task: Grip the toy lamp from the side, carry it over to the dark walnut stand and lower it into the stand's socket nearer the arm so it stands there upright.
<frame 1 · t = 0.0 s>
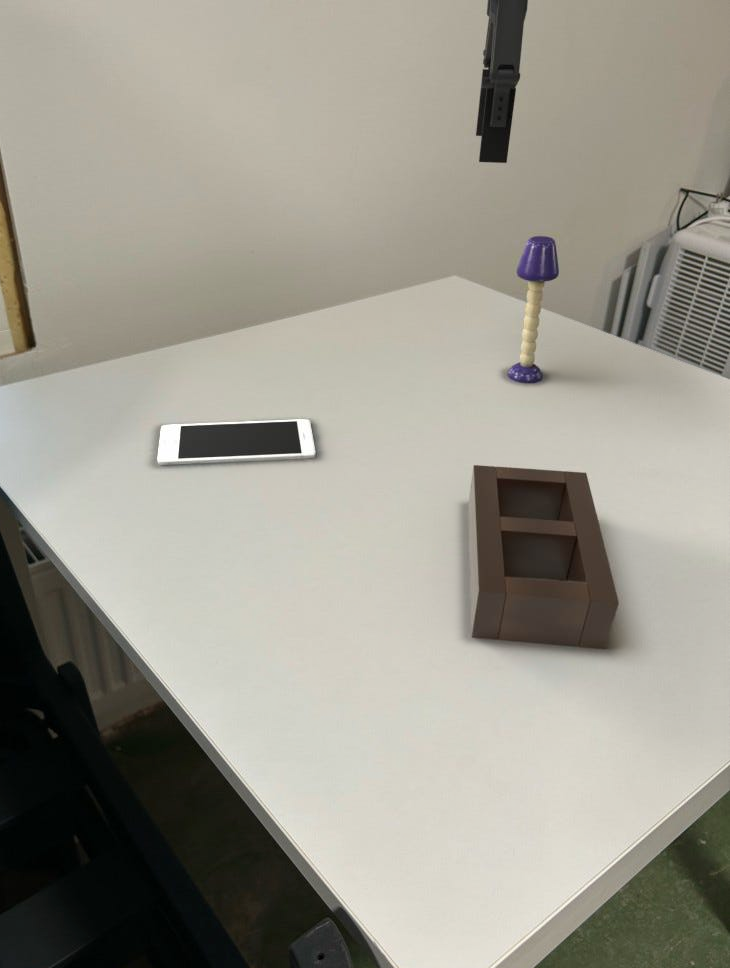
hand: (490, 148, 88), 25 cm above the table, tool pointing down, fingers open, 13 cm apart
toy lamp: (521, 379, 101), on the table
stand: (528, 573, 70), on the table
cell phone: (237, 446, 87), on the table
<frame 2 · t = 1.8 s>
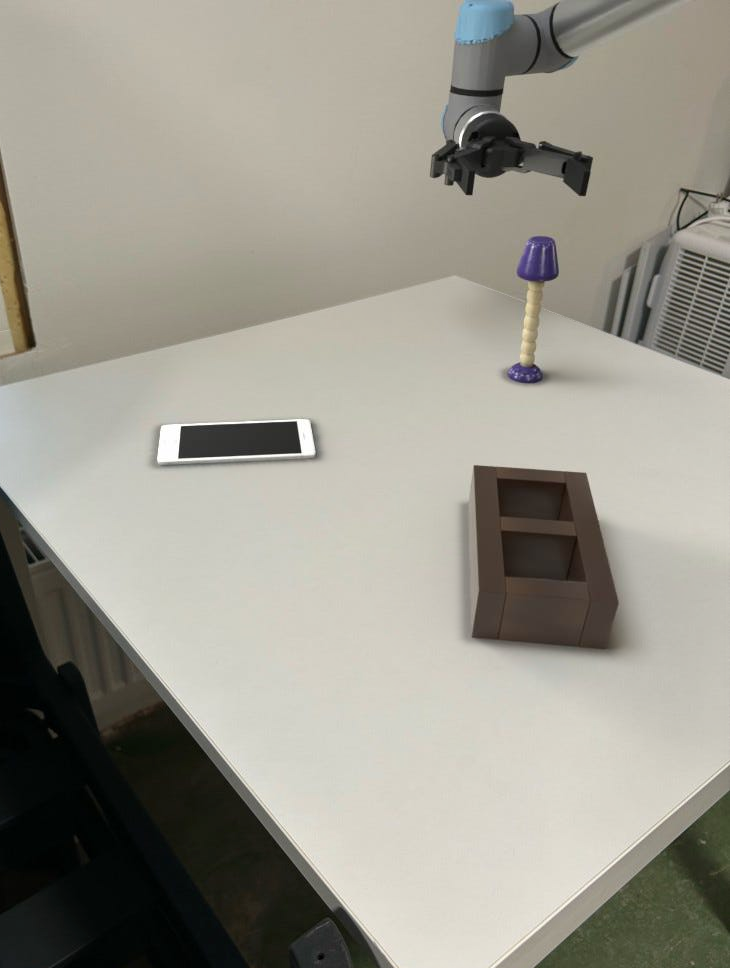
hand: (528, 183, 96), 20 cm above the table, tool horizontal, fingers open, 13 cm apart
nothing on the table moved.
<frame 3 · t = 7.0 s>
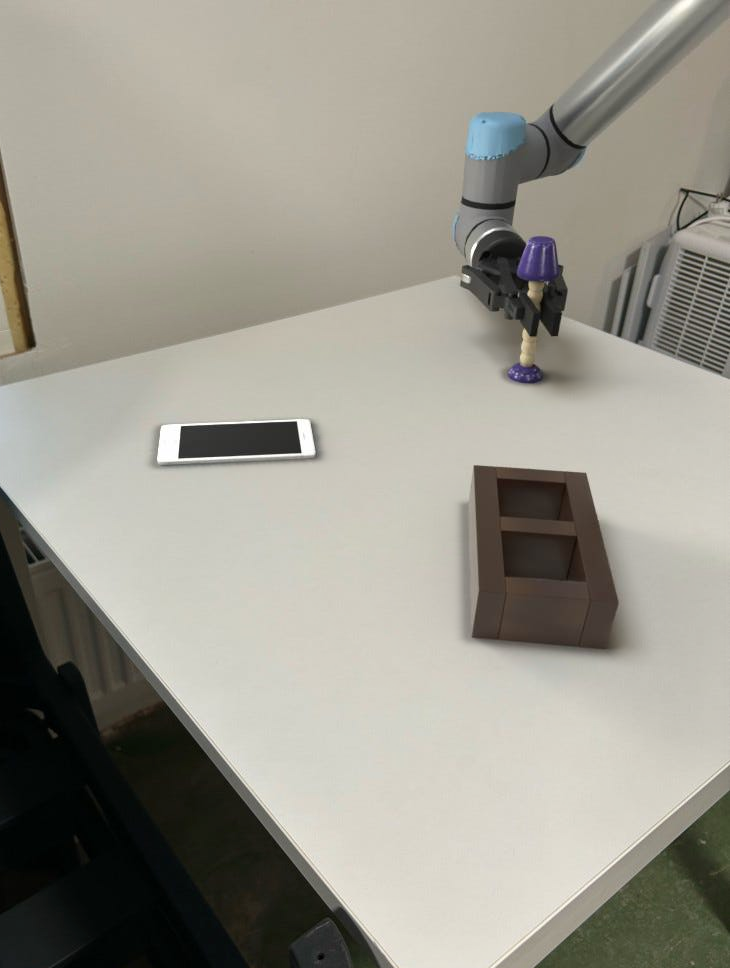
hand: (545, 324, 91), 9 cm above the table, tool horizontal, fingers closed on toy lamp, 2 cm apart
toy lamp: (521, 379, 101), on the table, touching gripper
everything else where it was.
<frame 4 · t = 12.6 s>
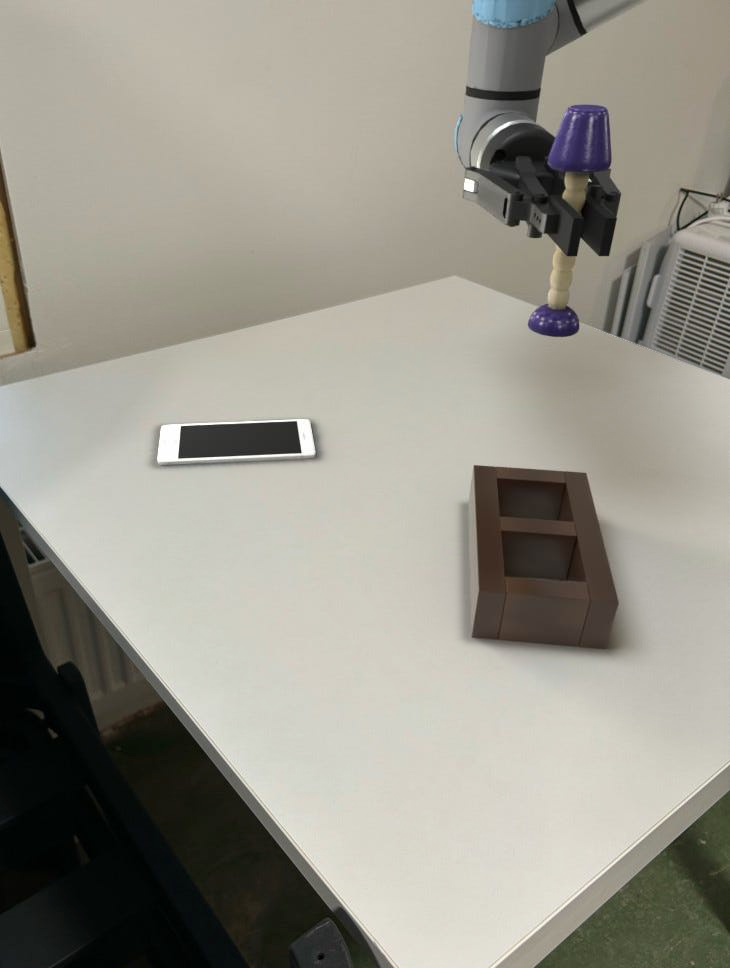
hand: (591, 237, 60), 26 cm above the table, tool horizontal, fingers closed on toy lamp, 2 cm apart
toy lamp: (548, 329, 70), point 17 cm above the table, touching gripper
everything else where it was.
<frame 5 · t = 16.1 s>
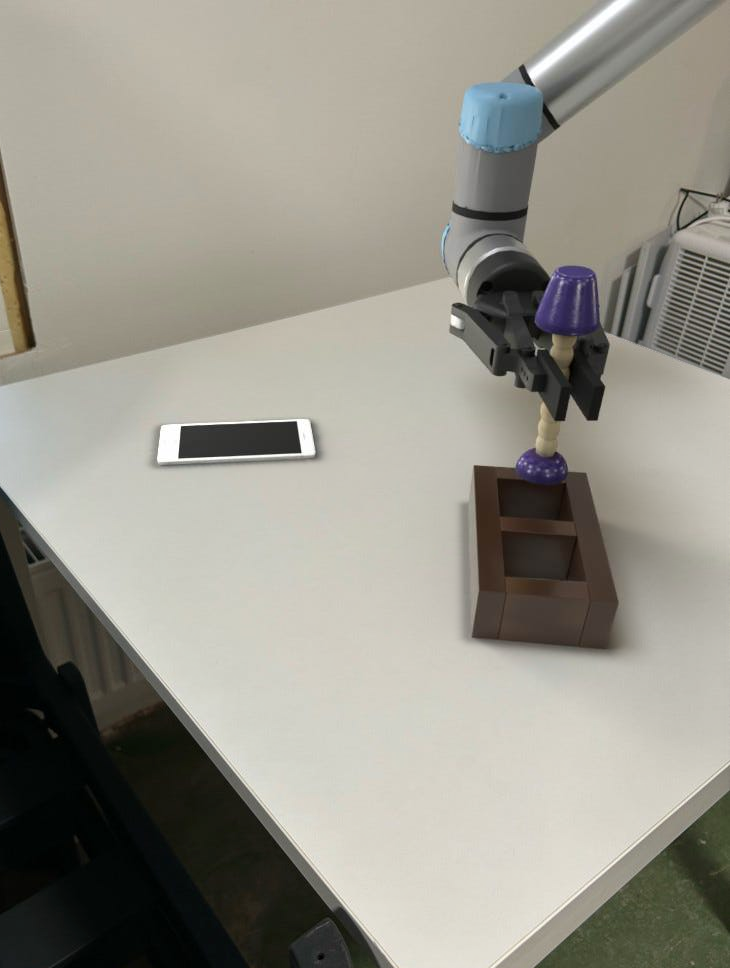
hand: (579, 403, 59), 17 cm above the table, tool horizontal, fingers closed on toy lamp, 2 cm apart
toy lamp: (536, 473, 69), point 8 cm above the table, touching gripper
everything else where it was.
when the fingers open (9 cm above the table, at t = 18.4 s): toy lamp stays where it is, resting in stand.
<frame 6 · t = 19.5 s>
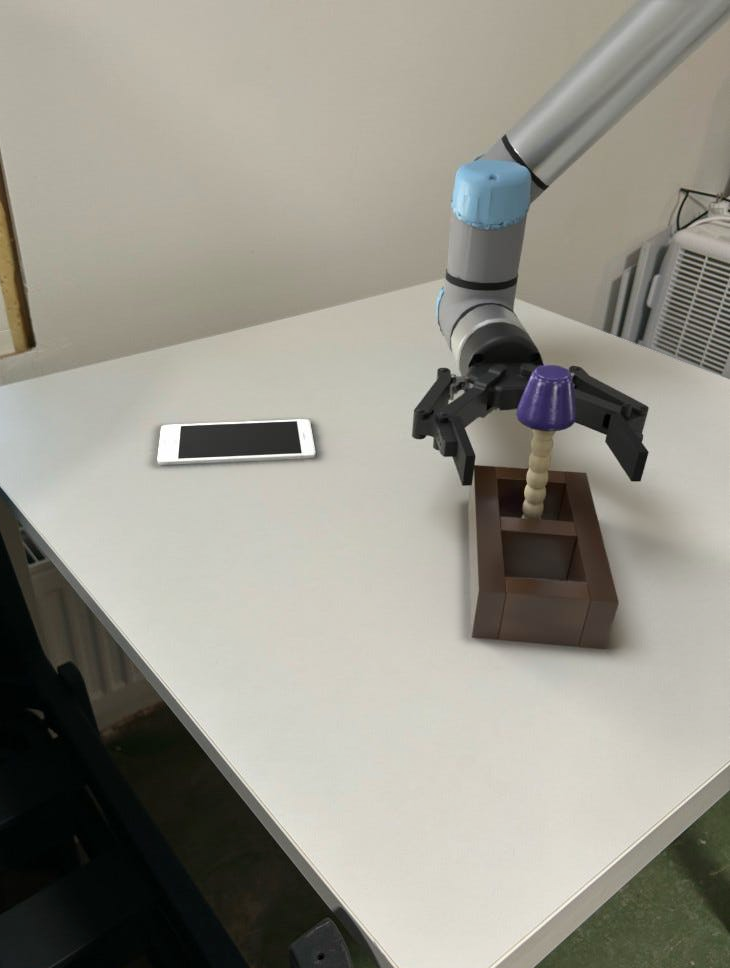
hand: (555, 469, 65), 10 cm above the table, tool horizontal, fingers open, 13 cm apart
toy lamp: (522, 547, 73), resting in stand
everything else where it was.
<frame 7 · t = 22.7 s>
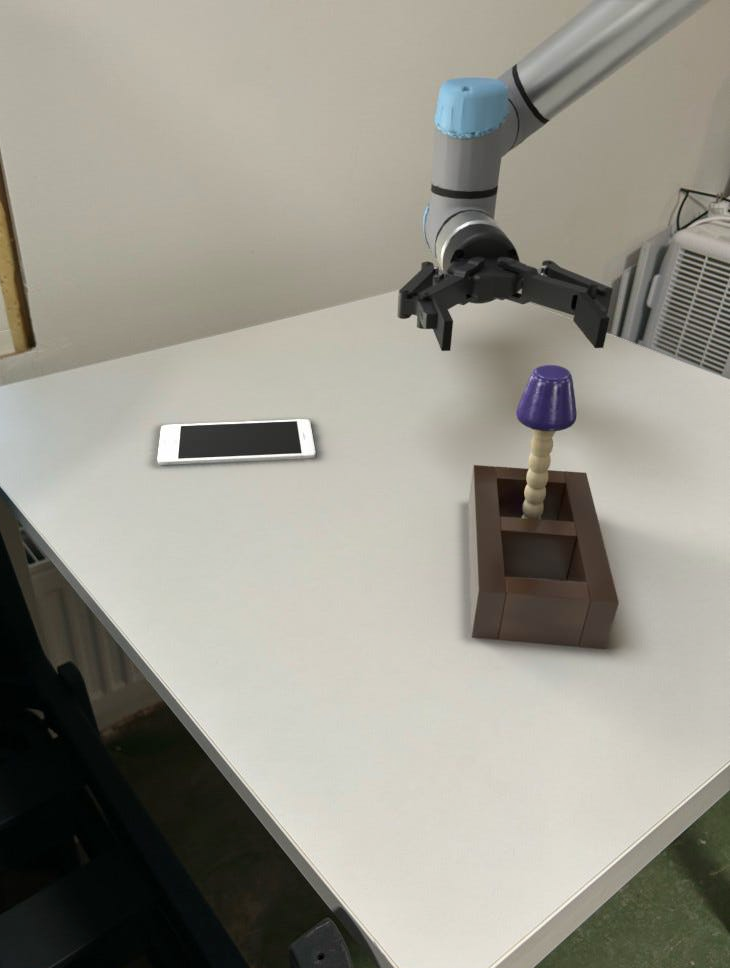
hand: (525, 335, 71), 16 cm above the table, tool horizontal, fingers open, 13 cm apart
nothing on the table moved.
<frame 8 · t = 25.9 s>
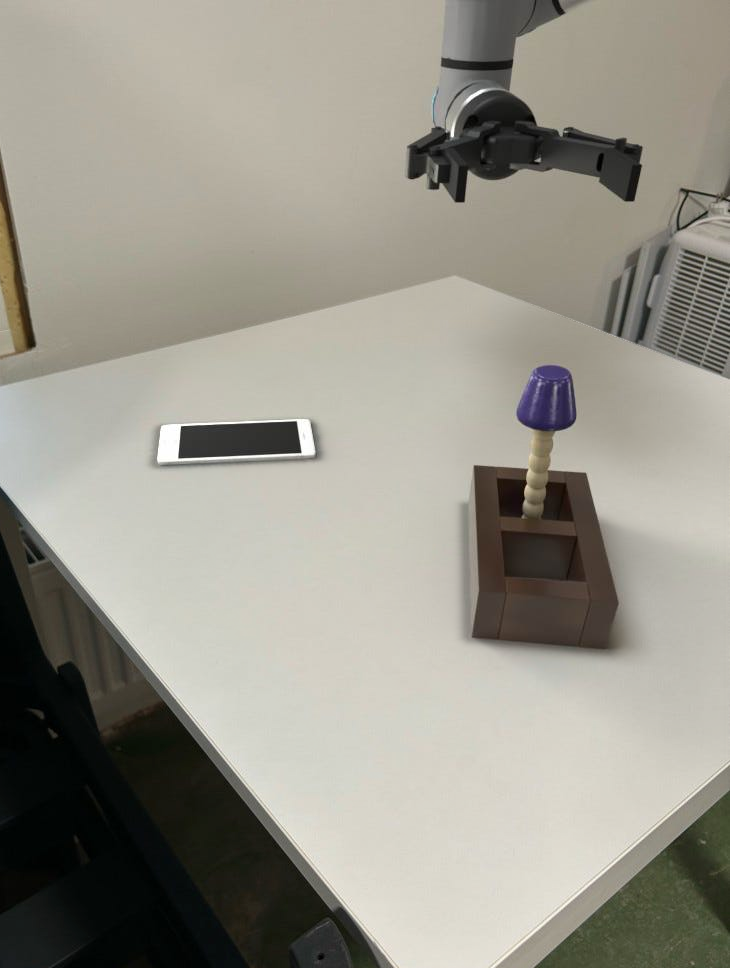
hand: (548, 184, 64), 28 cm above the table, tool horizontal, fingers open, 13 cm apart
nothing on the table moved.
at the end: toy lamp 0.2 cm from the target spot in the stand, point 0.0 cm above the stand's base; toy lamp tilted 0°; the gripper is holding nothing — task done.
